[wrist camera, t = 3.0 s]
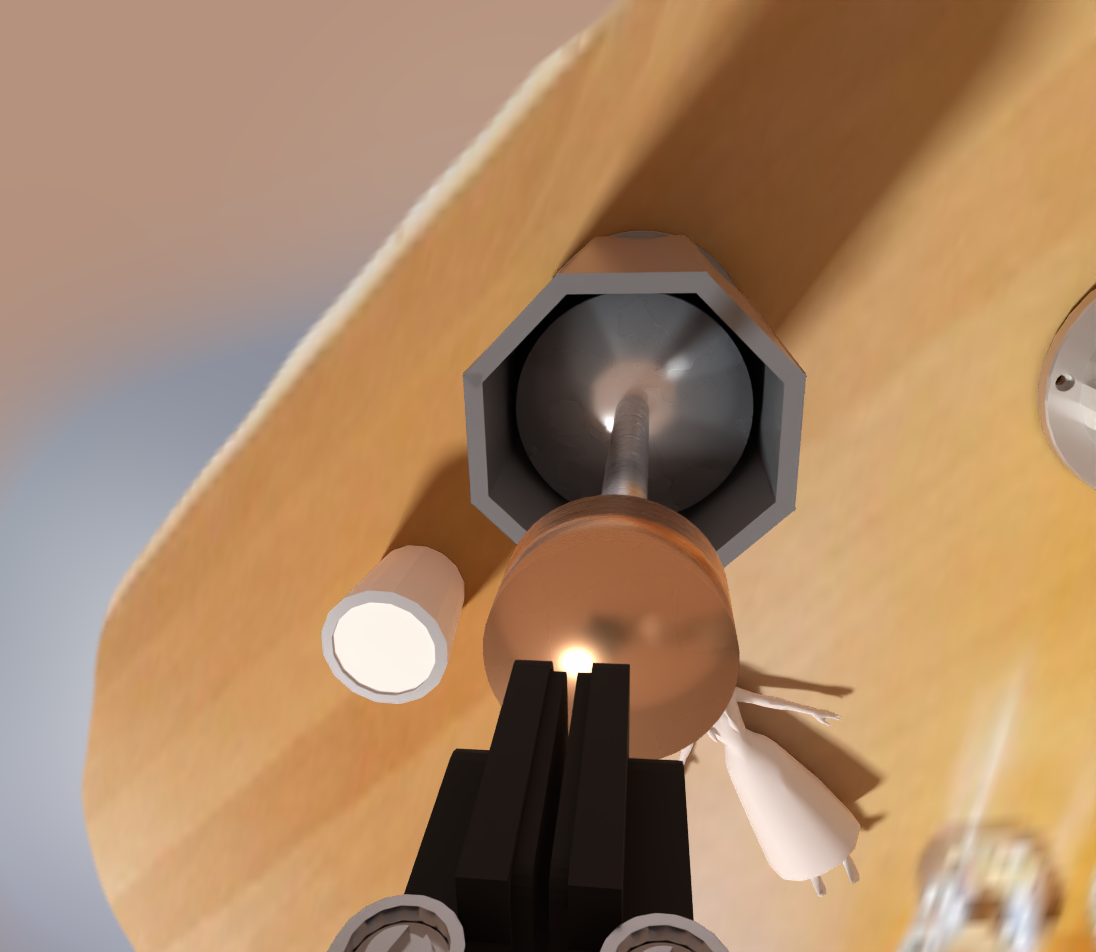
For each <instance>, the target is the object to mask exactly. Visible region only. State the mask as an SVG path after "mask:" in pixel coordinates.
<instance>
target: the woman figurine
mask: <svg viewBox="0 0 1096 952" xmlns="http://www.w3.org/2000/svg"><path fill="white" fill-rule="evenodd" d="M737 702H746V703H752V704H756V705H760V706H764V707H768V708H774V709H781V710H785V709H787V710H792V711H797V712H802V713H807V714H812V715H813V716H814V717H815V718H816V719H817V720H818V721H820V722H822V723H824V724H826V725H828V726H830V724H829V723H828V722H826V721H825V720H824V719H825V718H832V719H836V720H841V719H840V718H841V716H839V715H837V714H835V713H832V712H830V711H827V710H822V709H816V708H813V707H809V706H805V705H801V704H797V703H793V702H790V701H786V700H784V699H780V698H777V697H772V696H765V695H761V694H757V693H754V692H750V691H747V690H745V689H742V688H739V687H735V690H734V693H733V696H732V698H731V700H730V702H729V704H728V706H727V708H726V709H725V711H724V712H723V714H722V715H721V717H720V718H719V720H718V721H717V722H716V723H715V724H714V725H713V726H712V727H711V729H710V730H709V731H708V735H709V736H710V737H711V738H712V739H713V740H714V741H715V742H717V743H718V741H717V739H719V740H720V741H721V742H723V743H724V744H725V760H726V766H727V769H728V772H729V775H730V777H731V780H732V782H733V785H734V787H735V789H736V792H737V794H738V796H739V798H740V801H741V803H742V805H743V807H744V810H745V812H746V814H747V817H748V819H749V821H750V823H751V826H752V828H753V830H754V832H755V834H756V837H757V839H758V841H759V843H760V846H761V848H762V850H763V852H764V854H765V857H766V859H767V861H768V863H769V865H770V866H771V867H772V868H773V869H774V870H775V871H776V873H777V874H778V875H779V876H780V877H781V878H782V879H786V880H796V881H803V880H807V879H810V878H811V881H812V883H813V886H814V888H815V890H816V892H817V895H818V896H819V897H822V896H824V895H825V894H826V888H825V886H824V884H823V881H822V879H821V877H820V875H822V874H824V873H826V872H828V871H830V870H832V869H833V868H835V867H837V866H839V865H840V864H841V863H843V864H844V866H845V869H846V871H847V874H848V876H849V879H850V881H851V883H852V884H853V883H855V882H857V881H859V873H858V871H857V869H856V866H855V864H854V862H853V860H852V858H851V857H850V856H849V855H850V853H851V852H852V851H853V850H854V849H855V846H856V842H857V838H858V835H859V831H860V827H861V825H860V824H859V823H858V821H857V820H856V818H855V817H854V816H853V814H852V813H851V812H850V810H849V809H848V808H847V807H846V806H845V805H844V804H843V803H842V802H841V801H840V800H839V799H838V798H837V797H836V796H835V795H834V794H833V793H832V792H831V791H830V790H829V789H828V788H827V787H826V786H825V785H824V784H823V783H822V782H821V781H820V780H819V779H818V778H817V777H816V776H815V775H814V774H812V773H811V772H810V771H809V770H808V769H807V768H805V767H804V766H803V765H802V764H801V763H799V762H798V761H797V760H796V759H795V758H794V757H792V756H791V755H790V754H789V753H788V752H786V751H785V750H784V749H783V748H782V747H781V746H779V745H778V744H777V743H776V742H774V741H773V740H771V739H769V738H768V737H766V736H765V735H761V734H758V733H754V732H752V731H750V730H748V729H746V728H745V725H744V723H743V720H742V717H741V714H740V710H739V707H738V704H737ZM693 744H694V743H692V744H690V745H689V746H687V747H686V748H684V749H682V750H681V752H680V757H679V761H683V764H684V765H685V762H686V758H687V757H688V755H689V753H690V751H691V749H692V747H693Z"/></svg>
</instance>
